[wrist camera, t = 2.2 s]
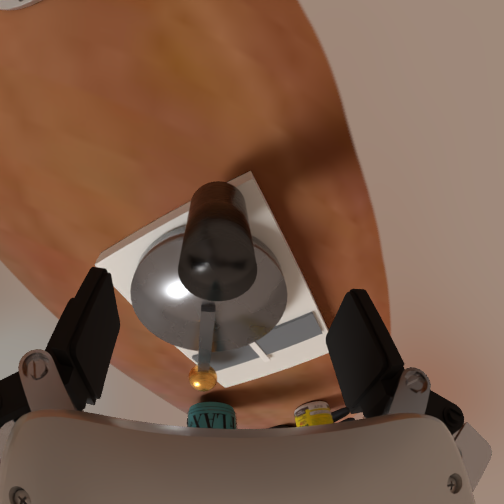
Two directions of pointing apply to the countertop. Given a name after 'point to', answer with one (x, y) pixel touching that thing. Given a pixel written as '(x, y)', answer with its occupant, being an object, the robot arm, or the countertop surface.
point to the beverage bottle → (211, 416)
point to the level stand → (298, 293)
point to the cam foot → (209, 282)
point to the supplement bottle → (313, 414)
